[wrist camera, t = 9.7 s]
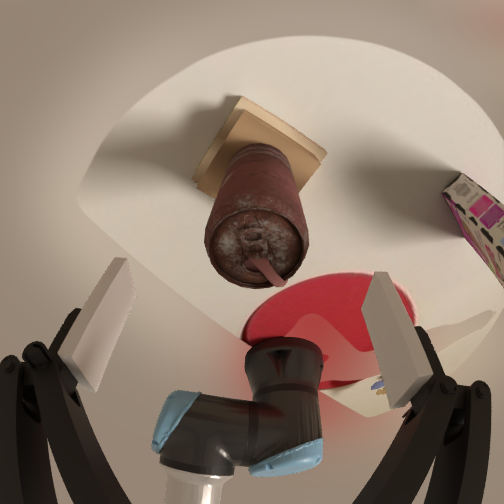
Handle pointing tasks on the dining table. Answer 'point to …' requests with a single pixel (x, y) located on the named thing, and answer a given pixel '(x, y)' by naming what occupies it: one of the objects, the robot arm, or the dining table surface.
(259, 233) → the can
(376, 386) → the toy pieces
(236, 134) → the stand
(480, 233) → the candy bar box
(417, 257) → the dining table surface
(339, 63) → the dining table surface
